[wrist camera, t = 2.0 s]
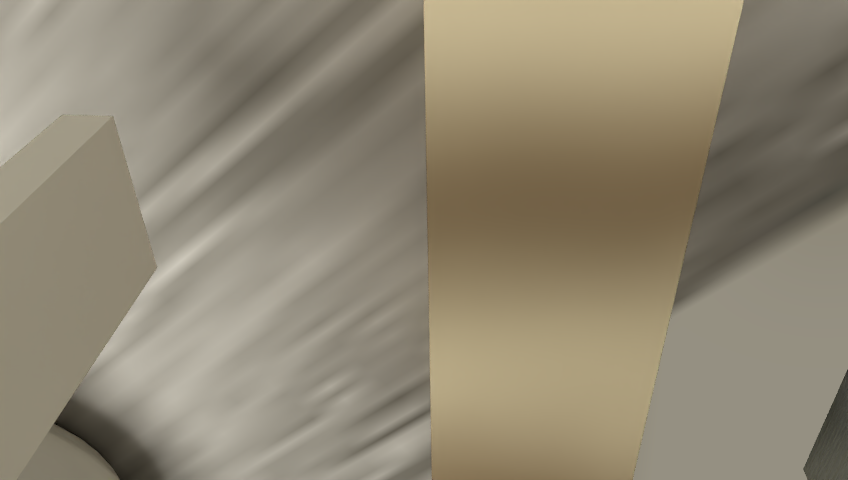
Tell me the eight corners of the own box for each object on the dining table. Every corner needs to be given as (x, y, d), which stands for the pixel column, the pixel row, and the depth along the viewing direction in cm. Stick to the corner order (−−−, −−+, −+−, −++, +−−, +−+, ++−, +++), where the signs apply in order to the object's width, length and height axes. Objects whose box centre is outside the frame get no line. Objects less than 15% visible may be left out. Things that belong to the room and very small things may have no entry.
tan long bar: (589, 398, 20) (612, 565, 16) (447, 390, 20) (433, 552, 16) (738, -520, 10) (912, -723, 6) (447, -505, 10) (412, -685, 6)
